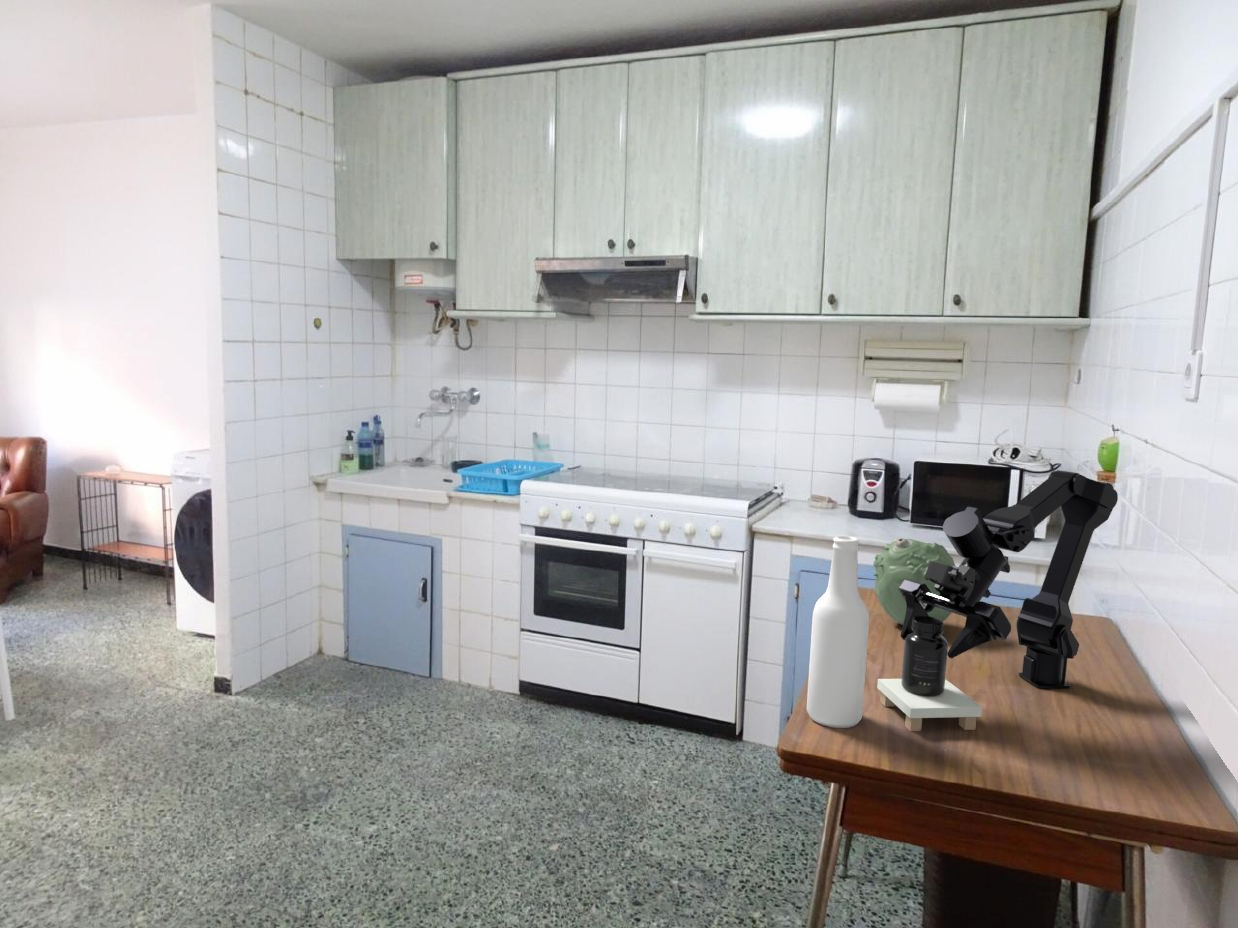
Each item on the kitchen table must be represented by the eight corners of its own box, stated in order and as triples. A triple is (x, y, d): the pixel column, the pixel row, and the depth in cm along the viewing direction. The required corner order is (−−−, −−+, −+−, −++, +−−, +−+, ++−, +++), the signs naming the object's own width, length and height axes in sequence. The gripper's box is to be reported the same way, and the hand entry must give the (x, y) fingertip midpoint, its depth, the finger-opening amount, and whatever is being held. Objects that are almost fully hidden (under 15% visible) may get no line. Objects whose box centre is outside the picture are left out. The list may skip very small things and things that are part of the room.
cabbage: (958, 644, 172) (966, 551, 169) (865, 630, 179) (871, 540, 177) (958, 623, 186) (966, 537, 184) (872, 611, 193) (878, 528, 191)
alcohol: (840, 703, 139) (852, 531, 136) (873, 725, 131) (887, 542, 128) (795, 709, 136) (807, 533, 133) (826, 732, 128) (839, 545, 124)
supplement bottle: (899, 678, 141) (905, 611, 139) (941, 684, 139) (948, 616, 137) (901, 694, 134) (907, 623, 133) (946, 700, 132) (952, 628, 131)
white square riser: (941, 699, 142) (943, 677, 142) (979, 730, 131) (982, 706, 130) (876, 701, 141) (877, 678, 140) (908, 732, 129) (910, 708, 129)
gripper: (910, 533, 142) (859, 601, 138) (1007, 557, 126) (953, 636, 122) (936, 572, 147) (888, 640, 143) (1033, 601, 131) (982, 678, 127)
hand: (925, 647), depth 134 cm, fingers open, 9 cm apart
